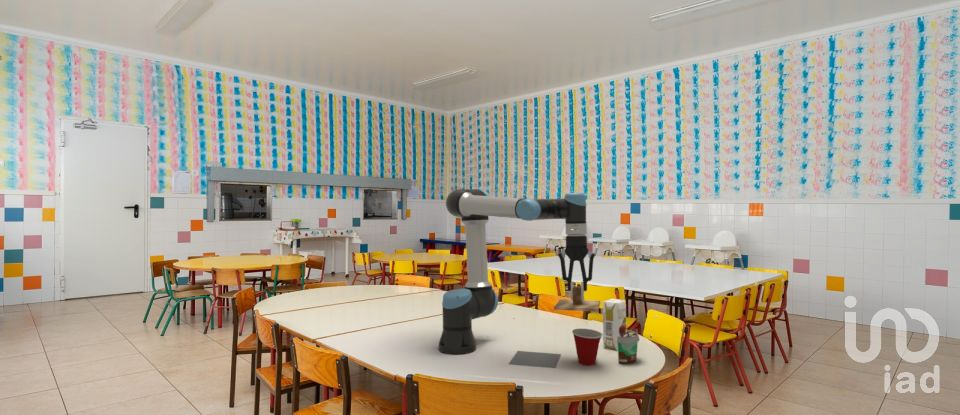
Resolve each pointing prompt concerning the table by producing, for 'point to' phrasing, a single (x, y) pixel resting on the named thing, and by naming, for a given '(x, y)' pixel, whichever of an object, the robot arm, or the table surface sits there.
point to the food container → (627, 347)
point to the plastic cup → (587, 345)
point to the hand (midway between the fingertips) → (577, 299)
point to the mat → (535, 359)
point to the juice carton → (613, 322)
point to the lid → (577, 303)
